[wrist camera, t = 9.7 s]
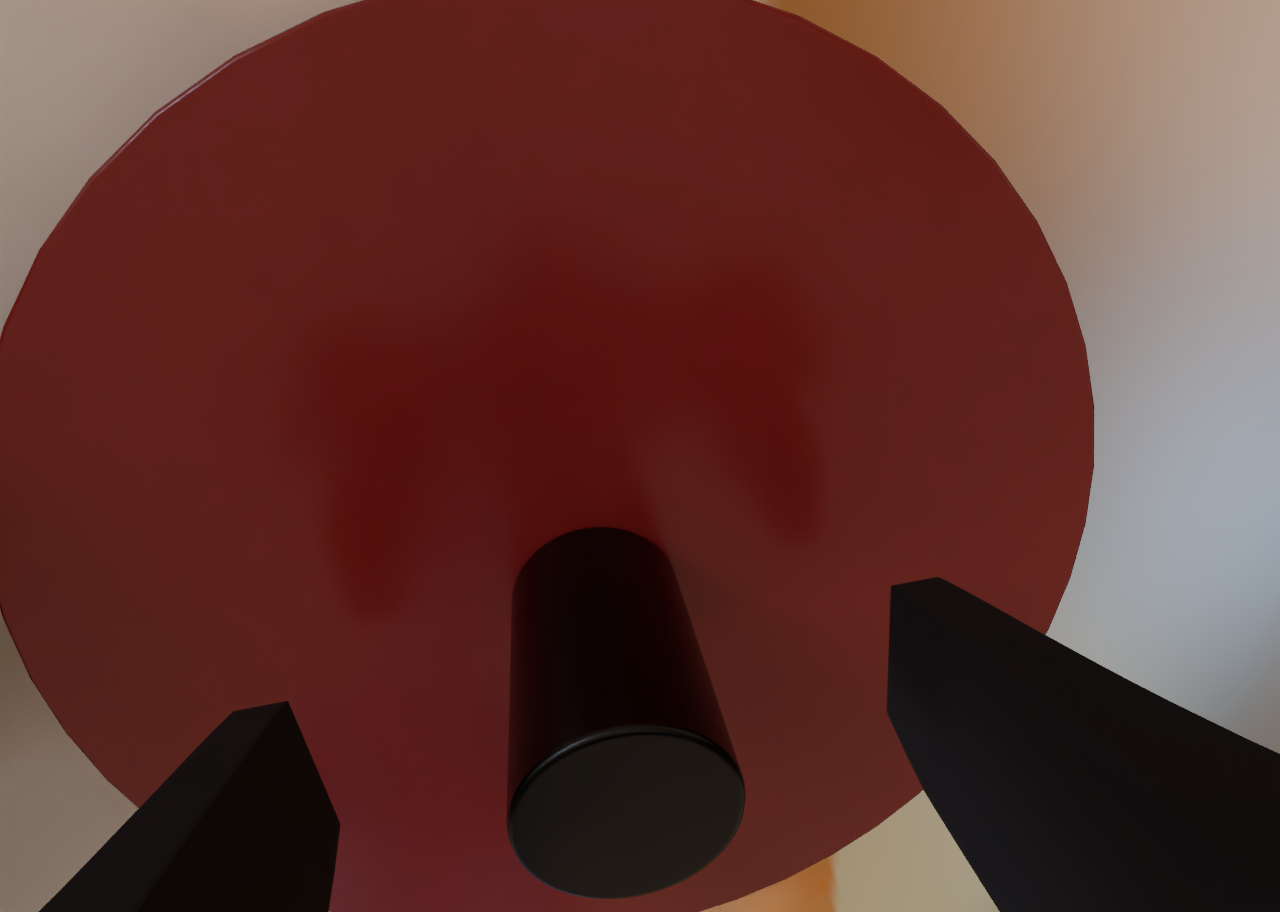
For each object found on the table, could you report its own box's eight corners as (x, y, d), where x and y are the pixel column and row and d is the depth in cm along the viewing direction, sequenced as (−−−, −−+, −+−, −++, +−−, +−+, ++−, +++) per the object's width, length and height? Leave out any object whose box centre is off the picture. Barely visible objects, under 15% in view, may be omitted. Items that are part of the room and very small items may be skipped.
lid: (882, -302, 8) (1354, -856, 3) (1120, 662, 14) (1382, 902, 10) (-273, 382, 9) (-1057, 643, 4) (442, 985, 16) (410, 1329, 11)
